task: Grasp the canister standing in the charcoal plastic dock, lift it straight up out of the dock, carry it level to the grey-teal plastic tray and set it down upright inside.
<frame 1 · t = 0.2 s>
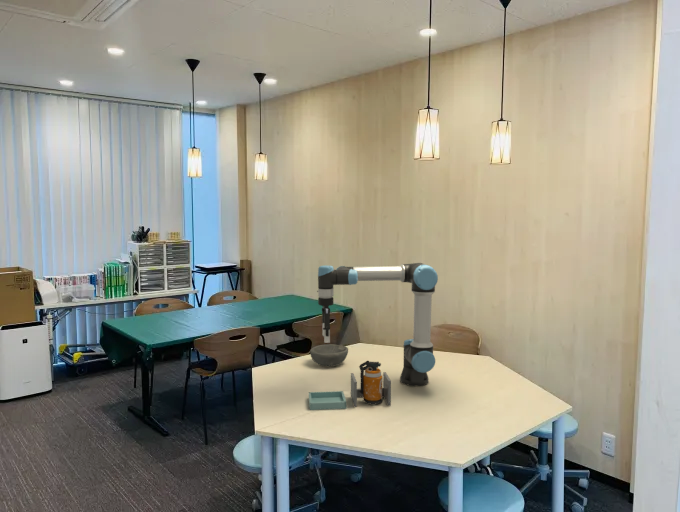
hand: (326, 339, 264), 28 cm above the table, fingers open, 13 cm apart
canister: (370, 402, 255), on the table
dock: (370, 401, 255), on the table
tray: (327, 403, 253), on the table
bowl: (329, 364, 316), on the table
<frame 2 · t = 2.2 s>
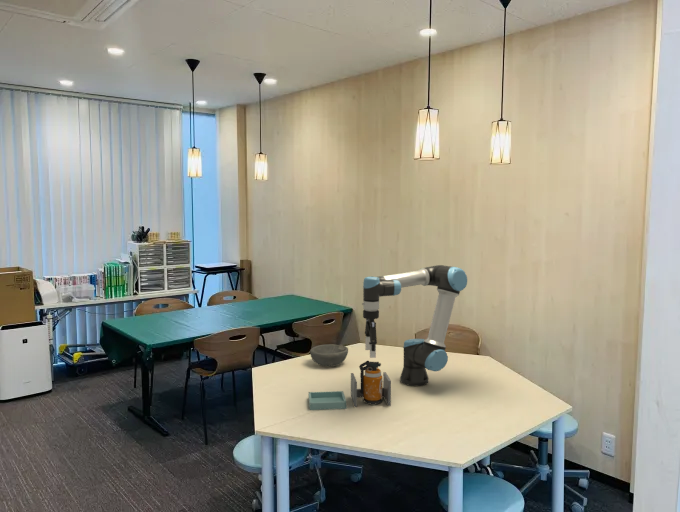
hand: (370, 353, 253), 24 cm above the table, fingers open, 13 cm apart
nothing on the table moved.
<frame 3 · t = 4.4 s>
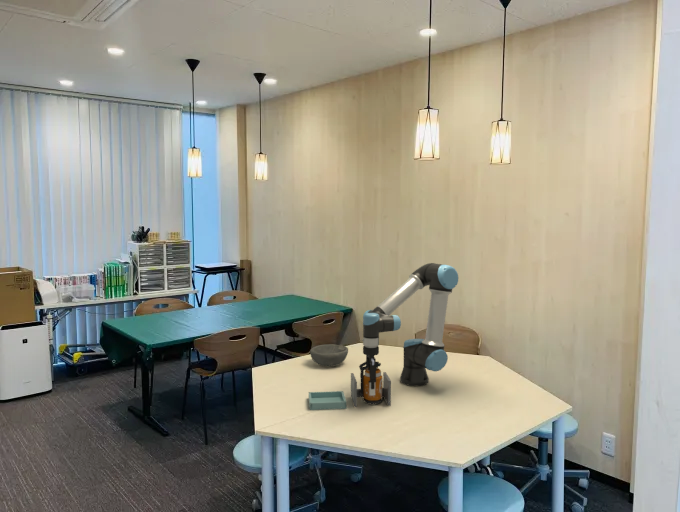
hand: (370, 391, 255), 5 cm above the table, fingers closed on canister, 9 cm apart
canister: (370, 402, 255), on the table, touching gripper
everything else where it was.
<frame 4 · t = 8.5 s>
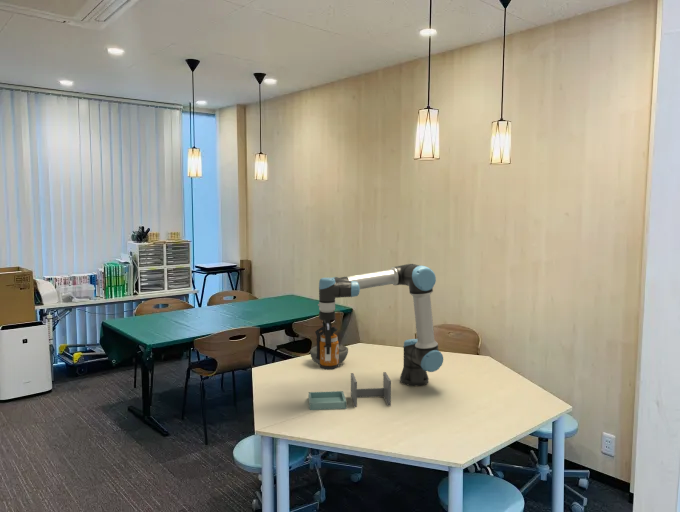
hand: (327, 357, 251), 22 cm above the table, fingers closed on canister, 9 cm apart
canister: (327, 368, 252), point 17 cm above the table, touching gripper
everything else where it was.
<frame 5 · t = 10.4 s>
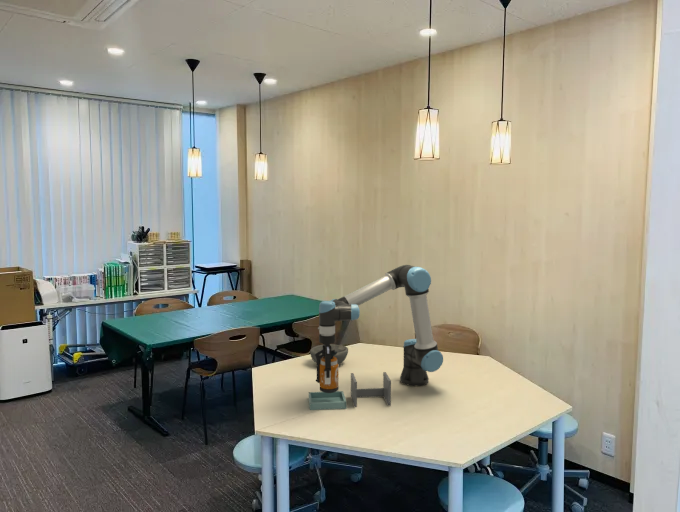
hand: (326, 380, 252), 11 cm above the table, fingers closed on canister, 9 cm apart
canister: (326, 391, 253), point 6 cm above the table, touching gripper
everything else where it was.
when the fingers open (7 cm above the table, at t = 12.2 s): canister drops 1 cm, resting on tray.
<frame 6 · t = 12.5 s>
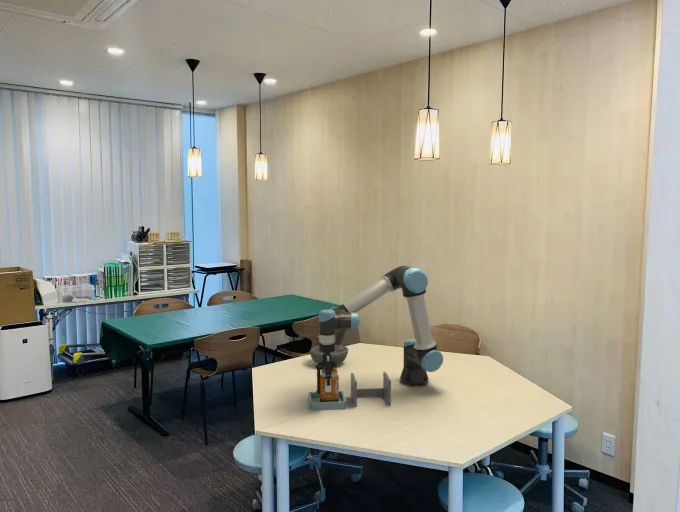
hand: (327, 387, 253), 8 cm above the table, fingers open, 12 cm apart
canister: (327, 402, 254), resting on tray
everything else where it was.
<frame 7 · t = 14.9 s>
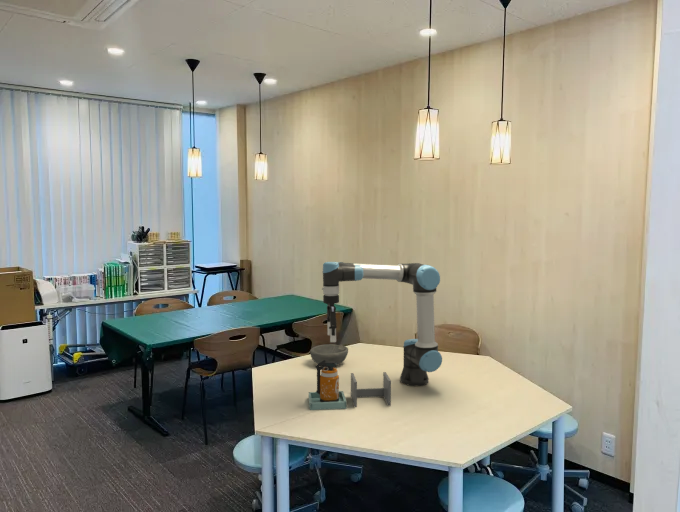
hand: (331, 338, 254), 31 cm above the table, fingers open, 13 cm apart
nothing on the table moved.
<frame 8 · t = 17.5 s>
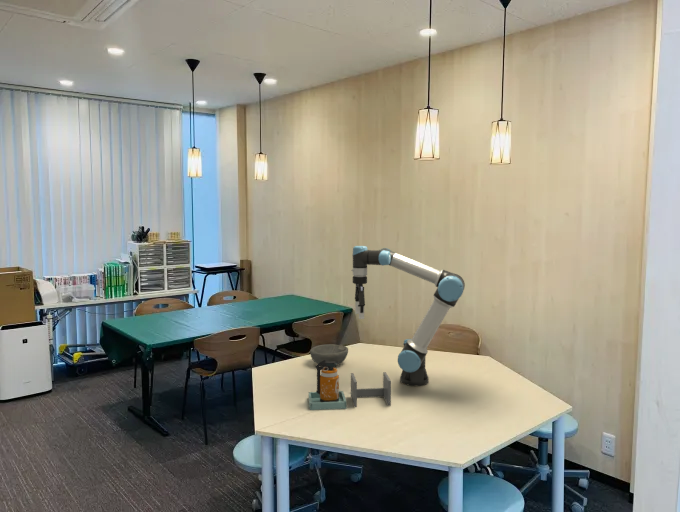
hand: (359, 316, 277), 37 cm above the table, fingers open, 13 cm apart
nothing on the table moved.
at the end: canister 0.4 cm from the tray (horizontally); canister tilted 0°; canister touching tray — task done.
